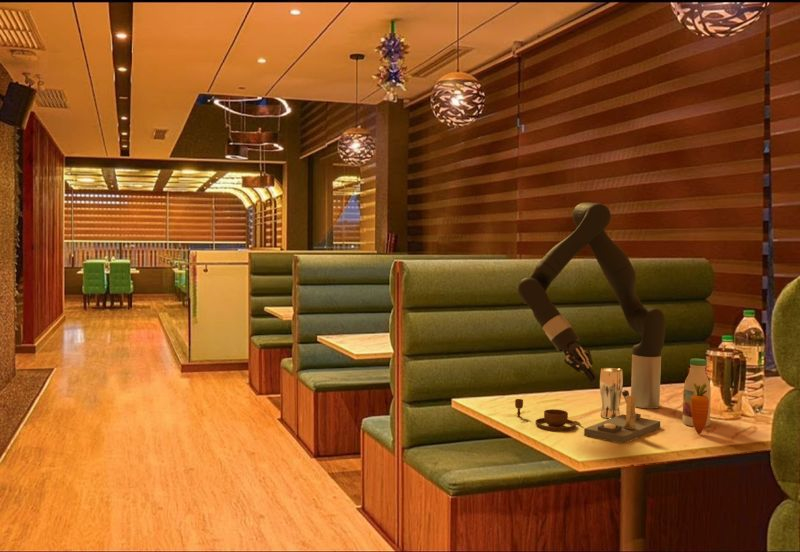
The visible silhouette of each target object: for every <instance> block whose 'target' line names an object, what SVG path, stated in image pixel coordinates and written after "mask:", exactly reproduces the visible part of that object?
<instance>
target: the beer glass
mask: <svg viewBox="0 0 800 552" xmlns="http://www.w3.org/2000/svg"><path fill="white" fill-rule="evenodd" d="M623 373H624V372H623V369H621V368H615V367H603V368H600V375H599V389H600V396H601V397H600V399H601V409H600V417H601V418H602V417H604V418H603V419H606V418H614V417H617V416H620V415H621V411H620V405H621V404H620V403H621V397H622V392H623V387H624V386H623V385H624V374H623Z"/></svg>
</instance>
